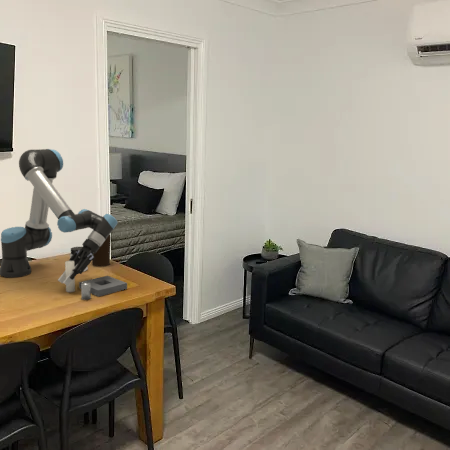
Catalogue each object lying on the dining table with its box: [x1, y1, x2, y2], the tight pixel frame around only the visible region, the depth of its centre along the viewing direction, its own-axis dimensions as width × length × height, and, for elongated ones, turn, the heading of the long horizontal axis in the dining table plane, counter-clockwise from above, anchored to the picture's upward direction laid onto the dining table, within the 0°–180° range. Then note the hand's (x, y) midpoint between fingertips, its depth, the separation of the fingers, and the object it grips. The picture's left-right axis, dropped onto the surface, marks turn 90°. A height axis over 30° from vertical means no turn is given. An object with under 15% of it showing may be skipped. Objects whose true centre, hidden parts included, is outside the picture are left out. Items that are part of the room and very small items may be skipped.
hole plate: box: [78, 275, 128, 298], centre depth 228 cm, size 16×16×3 cm
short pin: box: [80, 282, 92, 301], centre depth 214 cm, size 4×4×7 cm
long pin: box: [64, 260, 76, 293], centre depth 222 cm, size 4×4×14 cm
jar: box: [69, 246, 89, 273], centre depth 255 cm, size 9×8×12 cm
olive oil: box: [91, 233, 112, 267], centre depth 266 cm, size 11×11×25 cm
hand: (62, 283), depth 219 cm, fingers closed on long pin, 4 cm apart
